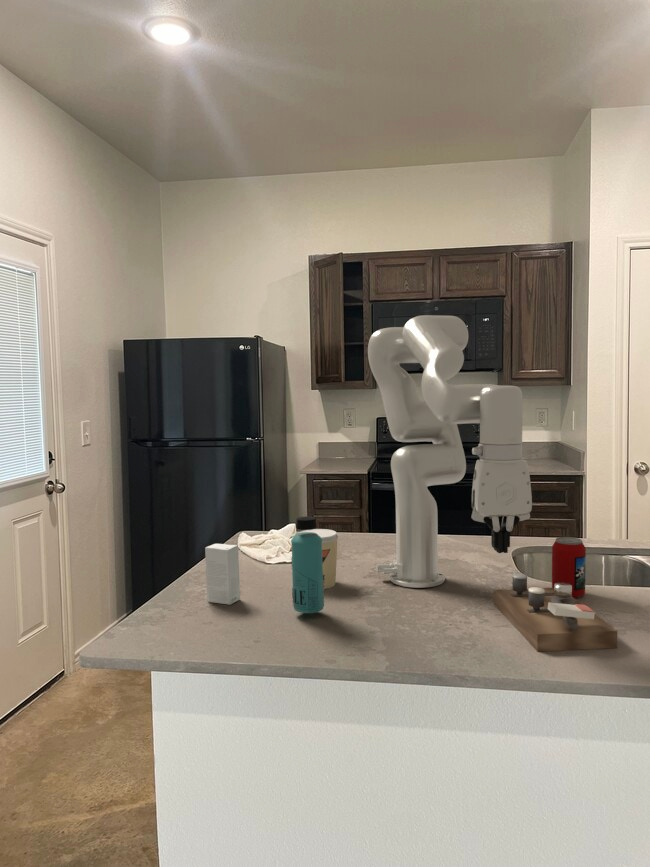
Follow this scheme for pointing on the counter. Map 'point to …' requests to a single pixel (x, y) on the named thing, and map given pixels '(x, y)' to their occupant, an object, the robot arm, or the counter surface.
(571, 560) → the beverage can
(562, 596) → the button
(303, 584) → the beverage bottle
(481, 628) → the counter surface
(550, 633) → the console
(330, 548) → the coffee cup
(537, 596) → the lever ivory
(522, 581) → the lever grey
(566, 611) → the block
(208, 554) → the skincare box
